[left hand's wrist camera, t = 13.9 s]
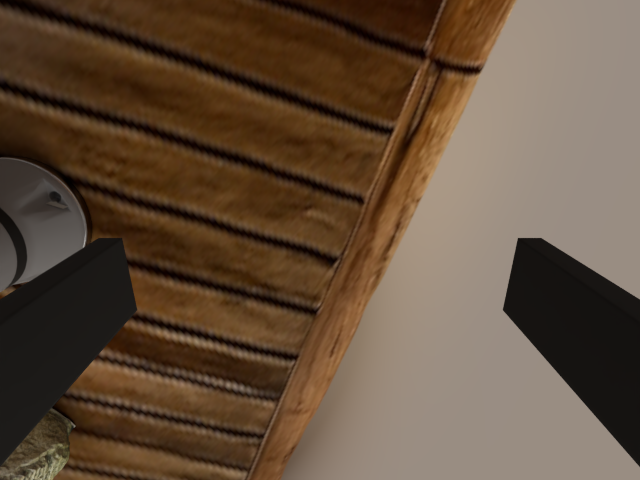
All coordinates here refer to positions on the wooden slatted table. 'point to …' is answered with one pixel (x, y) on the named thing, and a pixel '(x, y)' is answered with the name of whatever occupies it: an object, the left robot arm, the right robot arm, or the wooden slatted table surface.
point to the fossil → (40, 450)
